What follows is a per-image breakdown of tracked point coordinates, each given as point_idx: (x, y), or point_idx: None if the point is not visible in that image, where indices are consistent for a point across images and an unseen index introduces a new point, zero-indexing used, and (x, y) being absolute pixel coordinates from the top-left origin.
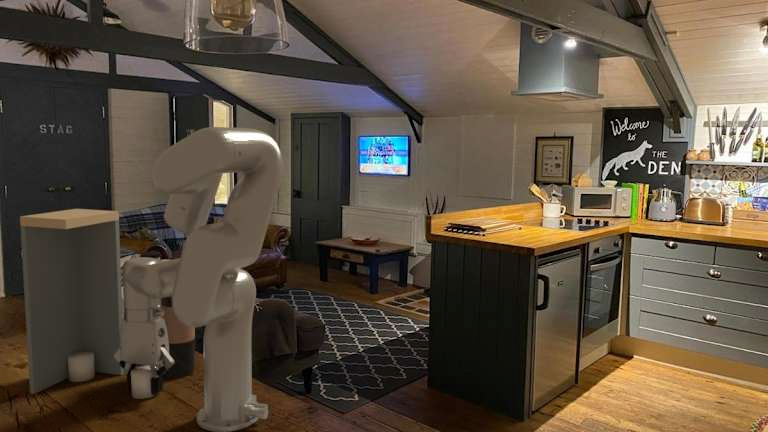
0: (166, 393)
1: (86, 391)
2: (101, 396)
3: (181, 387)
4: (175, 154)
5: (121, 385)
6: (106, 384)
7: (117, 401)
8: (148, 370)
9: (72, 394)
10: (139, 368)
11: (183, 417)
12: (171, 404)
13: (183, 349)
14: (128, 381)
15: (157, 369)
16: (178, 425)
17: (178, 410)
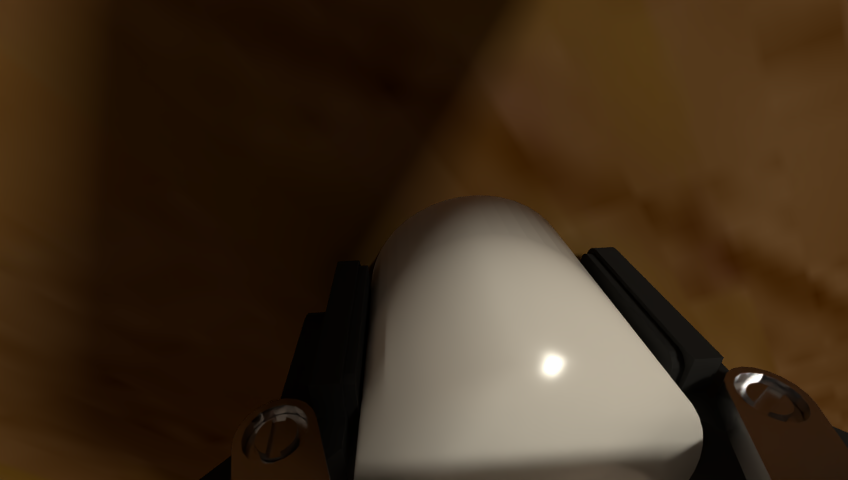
0: (636, 233)
1: (48, 394)
2: (223, 407)
3: (733, 79)
4: None
5: (161, 239)
6: (22, 268)
7: None
8: (588, 475)
9: (26, 444)
10: (426, 476)
11: (836, 418)
12: (733, 344)
13: None
14: None
15: (700, 422)
16: None
17: (795, 380)
